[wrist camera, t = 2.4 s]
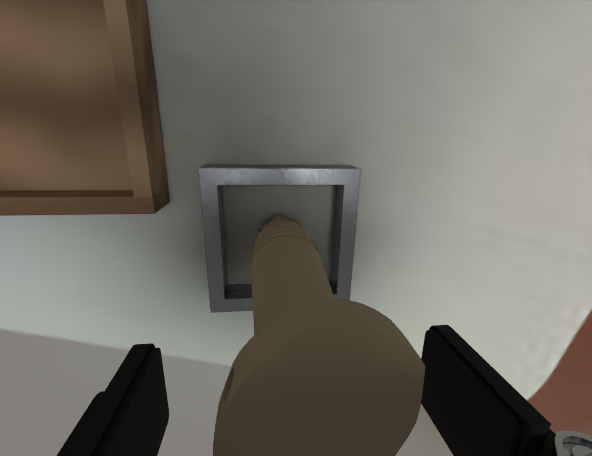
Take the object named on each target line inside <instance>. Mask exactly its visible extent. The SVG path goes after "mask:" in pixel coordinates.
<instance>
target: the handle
mask: <svg viewBox="0 0 592 456" xmlns="http://www.w3.org/2000/svg"><path fill="white" fill-rule="evenodd" d="M251 282H252V297H253V314H254V336H253V337H252V338H251V339H250V340H249V341H248V342H247V344H246V345H245V346H244V347H243V348H242V349H241V351H240V352H239V354H238V355H237V357H236V359H235V360H234V362H233V364H232V367H231V370H230V373H229V376H228V379H227V381H226V384H225V386H224V390H223V392H222V395H221V399H220V402H219V407H218V413H217V419H216V425H215V433H214V442H213V456H395V455H396V454H397V452H398V451H399V449H400V448H401V446H402V445H403V443H404V442H405V440H406V439H407V438H408V436H409V434H410V432H411V431H412V429H413V427H414V425H415V423H416V420H417V417H418V413H419V410H420V405H421V398H422V391H423V383H424V374H425V365H424V363H423V362H422V360H421V358H420V357H419V355H418V354H417V353H416V351H415V350H414V348H413V347H412V345H411V344H410V343H409V341H408V340H407V339H406V337H405V336H404V335H403V333H402V332H401V331H400V330H399V329H398V328H397V326H396V325H395V324H394V323H393V322H392V321H391V320H390V319H389V318H387V317H386V316H384V315H383V314H381V313H380V312H378V311H377V310H375V309H373V308H371V307H368V306H366V305H364V304H361V303H358V302H354V301H350V300H346V299H340V298H334V296H333V293H332V290H331V287H330V284H329V281H328V278H327V275H326V272H325V269H324V266H323V263H322V259H321V256H320V254H319V252H318V250H317V248H316V246H315V244H314V242H313V241H312V239H311V238H310V236H309V235H308V234H307V232H306V231H305V230H304V229H303V228H302V226H301V225H300V224H299V222H298V221H296V220H290V219H287V218H285V217H284V216H283V215H275V217H274V218H273V220H271V221H270V222H269V223H267V224H262V226H261V227H260V228H259V231H258V234H257V239H256V242H255V245H254V250H253V255H252V264H251Z"/></svg>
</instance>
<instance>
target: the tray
mask: <svg viewBox="0 0 592 456" xmlns="http://www.w3.org/2000/svg"><path fill="white" fill-rule="evenodd" d="M169 202H170V200H169V191H168V183H167V174H166V166H165V157H164V149H163V140H162V132H161V124H160V115H159V107H158V98H157V90H156V81H155V73H154V64H153V56H152V47H151V39H150V30H149V22H148V13H147V5H146V0H0V215H82V214H155V213H156V212H157V211H159V210H160V209H161V208H163V207H164V206H165V205H167V204H168V203H169Z"/></svg>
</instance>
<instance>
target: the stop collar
mask: <svg viewBox="0 0 592 456" xmlns="http://www.w3.org/2000/svg"><path fill="white" fill-rule="evenodd" d="M360 173H361V169H359V168H356V167H354V166H318V165H204V166H202V167H200V168H199V177H200V189H201V201H202V213H203V225H204V237H205V249H206V261H207V273H208V285H209V297H210V309H211V312H231V311H251V310H253V297H252V284H245V285H228V284H227V267H226V251H225V235H224V218H223V202H222V185H336V201H335V217H334V233H333V249H332V266H331V281H329V284H330V287H331V290H332V293H333V296H334V298H340V299H346V300H350V289H351V278H352V266H353V255H354V243H355V231H356V220H357V208H358V197H359V185H360Z"/></svg>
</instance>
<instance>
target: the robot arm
mask: <svg viewBox="0 0 592 456" xmlns="http://www.w3.org/2000/svg"><path fill="white" fill-rule="evenodd" d="M421 360H422V362H423V363H424V365H425V374H424V383H423V391H422V398H421V404H422V405H423V407H424V409H425V410H426V412H427V413H428V415H429V416H430V418H431V420H432V421H433V423H434V425H435V426H436V428H437V429H438V431H439V433H440V434H441V436H442V438H443V439H444V441H445V442H446V444H447V445H448V447H449V449H450V450H451V452H452V454H453V455H454V456H592V438H591V437H588V436H586V435H584V434H581V433H577V432H574V431H561V432H558V433H557V435H556V434H555V433H554V432H553V431H551V430H550V429H549V428H550V425H551V424H550V423H549V422H548V421H547V420H546V419H545V418H544V417H543V416H542V415H541V414H540V413H539V412H538V411H537V410H536V409H535V408H534V407H533V406H532V405H531V404H530V403H529V402H528V401H527V400H526V399H525V398H524V397H522V396H521V395H520V394H519V393H518V392H517V391H516V390H515V389H514V388H513V387H512V386H511V385H510V384H509V383H508V382H507V381H506V380H505V379H504V378H503V377H502V376H501V375H500V374H499V373H498V372H497V371H496V370H495V369H494V368H493V367H491V366H490V365H489V364H488V363H487V362H486V361H485V360H484V359H483V358H482V357H481V356H480V355H479V354H478V353H477V352H476V351H475V350H474V349H473V348H472V347H471V346H470V345H469V344H468V343H467V342H466V341H465V340H464V339H463V338H462V337H460V336H459V335H458V334H457V333H456V332H455V331H454V330H453V329H452V328H451V327H450V326H449V325H437V326H431V327H430V329H429V330H427V331H426V334H425V339H424V346H423V352H422V358H421ZM168 419H169V408H168V401H167V393H166V387H165V379H164V372H163V364H162V357H161V350H160V348H155V346H154V344H137V345H133V347H132V348H131V350H130V351H129V353H128V354H127V356H126V358H125V359H124V361H123V363H122V364H121V366H120V367H119V369H118V371H117V372H116V374H115V376H114V377H113V379H112V380H111V382H110V383H109V385H108V387H107V388H106V390H105V391H104V392H100V393H98V394H97V395H96V396H95V398H94V399H93V400H92V402H91V404H90V405H89V406H88V408H87V410H86V411H85V413H84V414H83V416H82V417H81V419H80V421H79V422H78V423H77V425H76V427H75V428H74V430H73V431H72V433H71V434H70V436H69V437H68V439H67V441H66V442H65V444H64V445H63V447H62V448H61V450H60V452H59V453H58V455H57V456H157V454H158V451H159V448H160V445H161V442H162V439H163V436H164V432H165V430H166V426H167V423H168Z"/></svg>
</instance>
